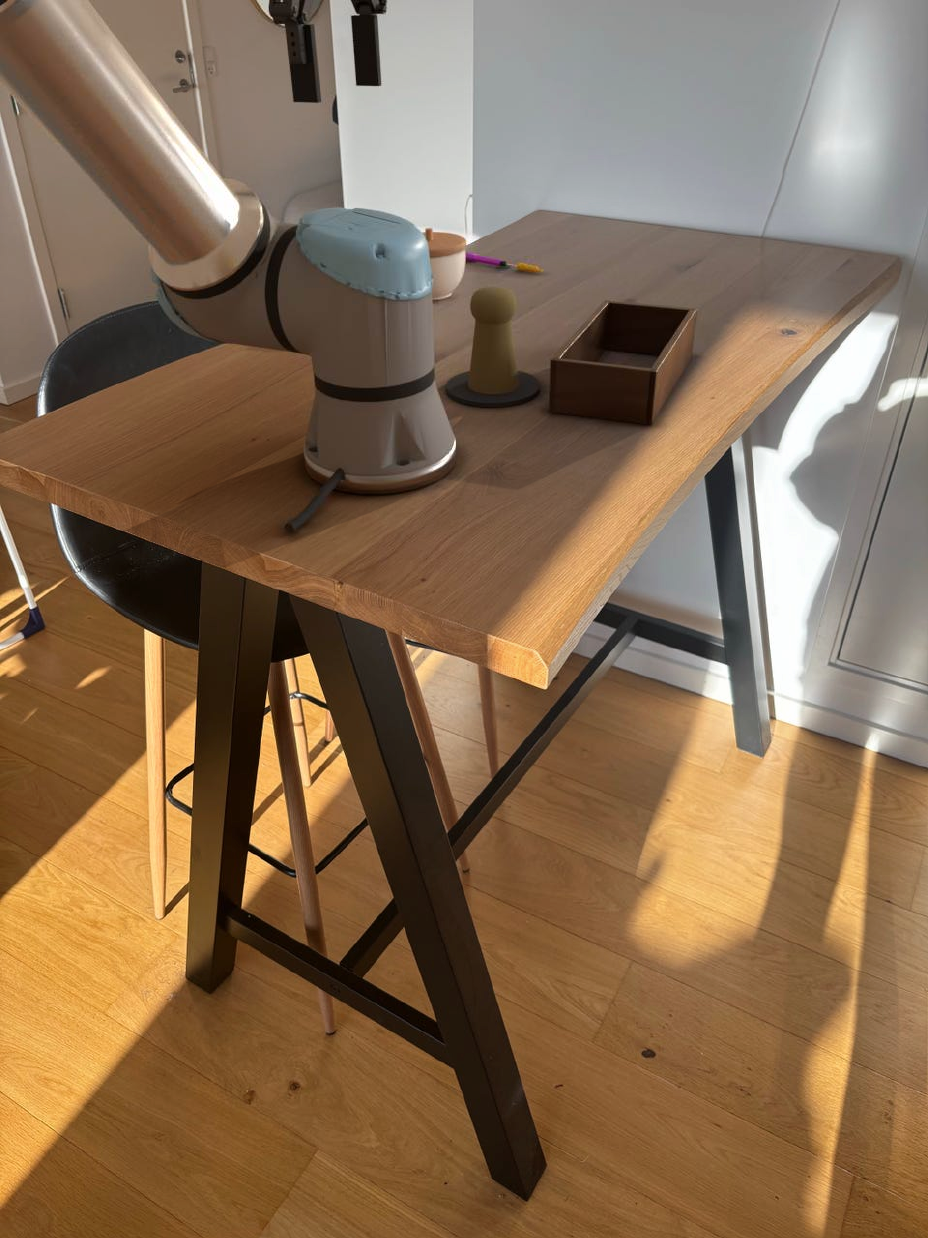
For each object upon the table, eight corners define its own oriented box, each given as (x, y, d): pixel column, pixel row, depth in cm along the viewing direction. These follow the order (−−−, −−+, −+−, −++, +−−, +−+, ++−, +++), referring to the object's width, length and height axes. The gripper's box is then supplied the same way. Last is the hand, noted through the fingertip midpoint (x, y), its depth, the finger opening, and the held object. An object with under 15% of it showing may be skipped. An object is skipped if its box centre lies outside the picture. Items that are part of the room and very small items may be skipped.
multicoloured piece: (458, 259, 162) (539, 274, 154) (459, 251, 162) (541, 266, 154) (468, 259, 164) (548, 274, 156) (468, 252, 164) (549, 266, 156)
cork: (491, 398, 111) (491, 300, 105) (457, 384, 115) (454, 289, 109) (530, 384, 114) (531, 289, 108) (495, 371, 118) (495, 278, 112)
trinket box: (442, 308, 141) (440, 240, 136) (381, 298, 146) (377, 232, 140) (480, 289, 149) (479, 224, 143) (421, 280, 153) (418, 217, 148)
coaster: (522, 412, 109) (522, 407, 109) (431, 400, 113) (431, 395, 112) (552, 378, 118) (552, 373, 117) (466, 368, 121) (466, 363, 121)
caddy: (651, 425, 106) (656, 371, 102) (548, 411, 109) (550, 359, 106) (691, 356, 123) (697, 308, 119) (601, 346, 126) (604, 299, 123)
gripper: (284, -186, 79) (312, 110, 91) (411, -163, 98) (421, 80, 110) (204, -180, 81) (243, 108, 93) (344, -158, 100) (361, 78, 112)
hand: (339, 93), depth 101 cm, fingers open, 13 cm apart
